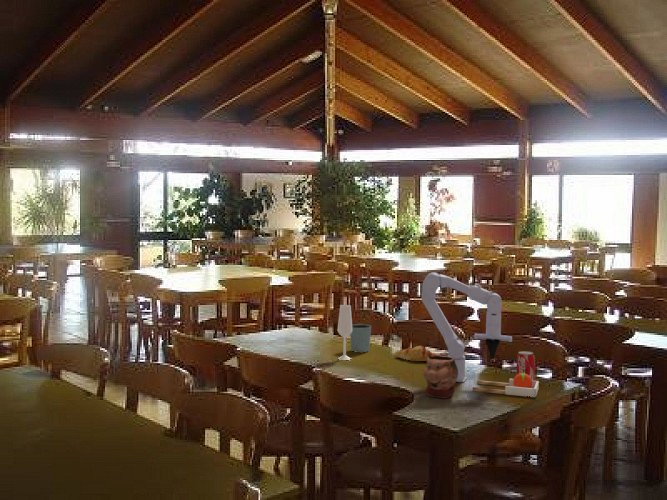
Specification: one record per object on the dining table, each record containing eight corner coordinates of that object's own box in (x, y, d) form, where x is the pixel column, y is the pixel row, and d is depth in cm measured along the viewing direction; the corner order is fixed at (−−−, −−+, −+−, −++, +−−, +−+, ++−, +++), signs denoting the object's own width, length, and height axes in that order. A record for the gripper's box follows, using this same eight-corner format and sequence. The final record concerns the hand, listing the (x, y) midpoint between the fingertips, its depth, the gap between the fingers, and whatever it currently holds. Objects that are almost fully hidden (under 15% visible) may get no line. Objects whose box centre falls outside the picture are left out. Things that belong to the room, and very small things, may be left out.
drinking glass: (374, 350, 361) (375, 325, 361) (363, 354, 353) (364, 328, 352) (356, 348, 367) (356, 323, 366) (345, 351, 358) (345, 326, 357)
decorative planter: (431, 386, 294) (432, 350, 293) (463, 390, 290) (464, 353, 289) (417, 398, 276) (418, 360, 275) (450, 402, 271) (451, 363, 270)
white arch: (505, 394, 284) (505, 386, 284) (509, 386, 297) (509, 378, 297) (535, 397, 281) (536, 389, 280) (538, 388, 293) (538, 381, 293)
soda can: (536, 384, 299) (536, 354, 298) (518, 384, 299) (518, 354, 299) (532, 380, 306) (532, 350, 305) (515, 380, 307) (514, 350, 306)
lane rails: (472, 390, 288) (472, 387, 288) (477, 383, 301) (477, 380, 301) (504, 394, 285) (505, 390, 284) (508, 386, 297) (509, 383, 297)
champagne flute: (352, 357, 344) (353, 304, 343) (351, 361, 338) (352, 306, 336) (337, 357, 345) (338, 304, 343) (336, 360, 338) (337, 306, 337)
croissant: (393, 366, 345) (390, 352, 341) (400, 352, 353) (397, 338, 349) (438, 370, 336) (436, 356, 332) (444, 356, 344) (442, 342, 340)
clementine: (532, 394, 284) (533, 376, 284) (513, 393, 286) (513, 374, 285) (531, 389, 292) (532, 371, 292) (512, 388, 293) (513, 370, 293)
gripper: (473, 324, 300) (472, 358, 301) (511, 327, 296) (510, 361, 297) (476, 321, 307) (475, 355, 308) (513, 324, 302) (512, 358, 303)
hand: (492, 358), depth 303 cm, fingers closed
